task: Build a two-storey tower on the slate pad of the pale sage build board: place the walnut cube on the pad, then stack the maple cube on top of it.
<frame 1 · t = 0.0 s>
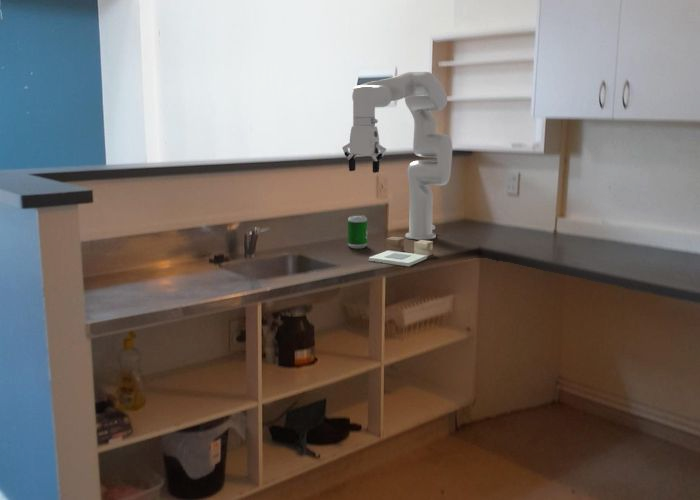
hand: (363, 171, 251), 31 cm above the counter, fingers open, 9 cm apart
build board: (398, 259, 254), on the counter
walnut cube: (394, 251, 268), on the counter
soda can: (357, 247, 276), on the counter
maple cube: (423, 255, 262), on the counter
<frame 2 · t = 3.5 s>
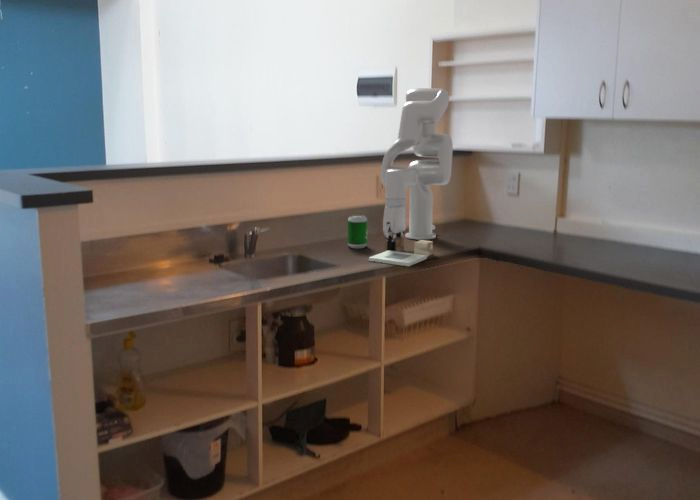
hand: (394, 249, 268), 0 cm above the counter, fingers closed on walnut cube, 5 cm apart
walnut cube: (394, 251, 268), on the counter, touching gripper
everything else where it was.
when the fingers open (3 cm above the counter, at t = 8.2 s): walnut cube stays where it is, resting on build board.
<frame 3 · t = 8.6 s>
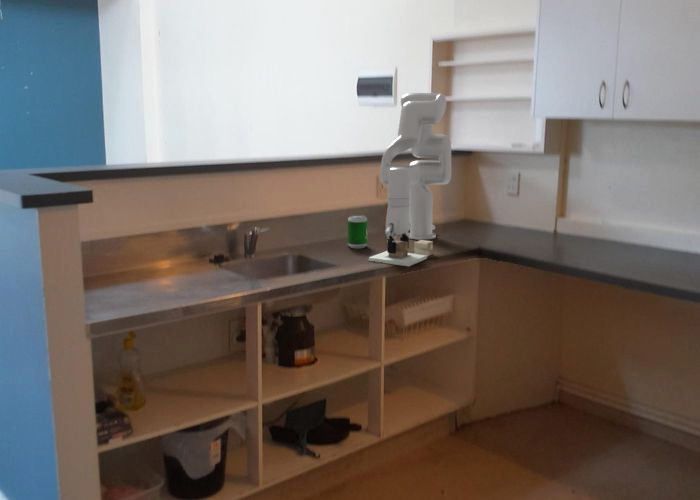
hand: (398, 250, 254), 3 cm above the counter, fingers open, 8 cm apart
walnut cube: (398, 256, 254), point 1 cm above the counter, touching build board
everything else where it was.
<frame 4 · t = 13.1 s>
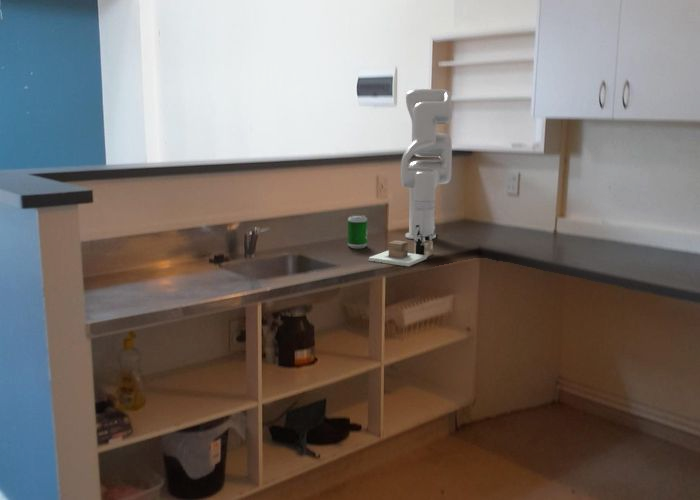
hand: (423, 253, 262), 0 cm above the counter, fingers closed on maple cube, 5 cm apart
maple cube: (423, 254, 262), on the counter, touching gripper
everything else where it was.
when the fingers open (8 cm above the counter, at t = 18.4 s): maple cube stays where it is, resting on walnut cube.
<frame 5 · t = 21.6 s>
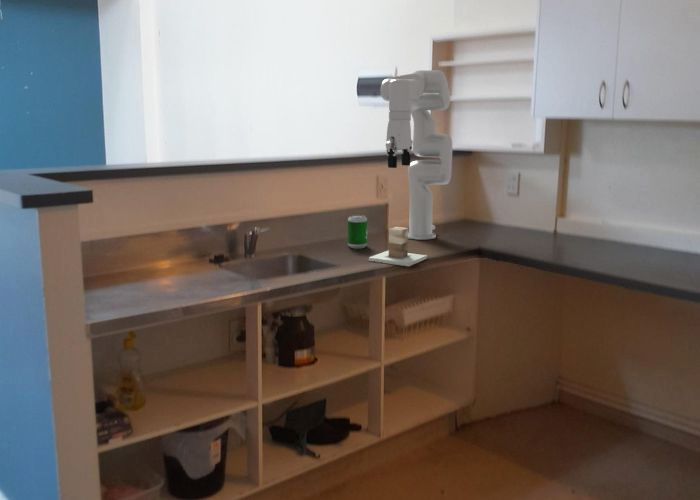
hand: (399, 166, 247), 33 cm above the counter, fingers open, 9 cm apart
walnut cube: (398, 256, 254), point 1 cm above the counter, touching build board, maple cube
maple cube: (398, 242, 253), point 6 cm above the counter, touching walnut cube
everything else where it was.
at the end: walnut cube 0.0 cm off-centre on the build board, point 1.3 cm above the build board's base; maple cube 0.1 cm off-centre on the walnut cube, point 5.0 cm above the walnut cube's base; maple cube tilted 0° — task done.
